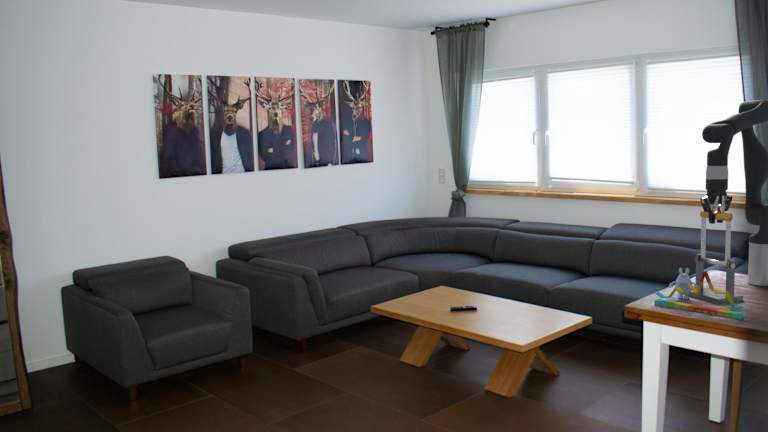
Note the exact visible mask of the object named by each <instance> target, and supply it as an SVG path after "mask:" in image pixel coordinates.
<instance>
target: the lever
mask: <svg viewBox="0 0 768 432" xmlns="http://www.w3.org/2000/svg"><path fill="white" fill-rule="evenodd" d="M699 216H700V218H701V219H700V220H701V221H700V222H701V224H700V228H701V229H700V254H701V258H700V261H701V262H704V264H705V263H706V264H711V265H715V266H719V267H723V268H726V261H727V260H731V242H732V241H731V240H732V236H731V235H732V220H733V218H734V215H733V213H731V212H717V210H715V221H717V220H723V222H725V244H724V245H725V248H724V249H725V250H724V261H721V260H719V259H718V260H717V259H713V258H707V257H706V250H707V249H706V248H707V246H706V243H707V234H706V233H707V219H709V214H708V213H707V212H704V210H703V209H702V210H701V211H700V212H699Z"/></svg>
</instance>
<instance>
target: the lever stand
mask: <svg viewBox="0 0 768 432" xmlns="http://www.w3.org/2000/svg"><path fill="white" fill-rule="evenodd" d="M700 258H701V253H696V254H695V282H694V283H695V284H697V285H698V286H699V283H700V280H701V277H702V274H703V272H705V266H704V265H705V262H701V261H700ZM725 268H726V269H725V272H726V273H725V274H726V275H725V291H728V292H729V294H730V296H731V298H732V300H733V302H734V303H738V302H744V295H741V294H738V293H735V275H736V272H735V271H736V269H735V268H736V259H730V260H727V261H726V267H725ZM704 280H705V279H704ZM704 280H703V283H702V286H701V289H700V292H699V293H697V294H695V293H694V292H693V291H692V290H691V292H690V293H689V294H687V296H689V298H695V299H696V300H697V299H698V300H700V301H704V302H708V303H711V304H715V305H723V304H730V303H729V301H728V299H727V296H726V294H717V293H715V292H713V291H711V290H710V288H709V286H708V287H704V282H705V281H704ZM714 288H715V287H714ZM715 289H717V290H719V291H724V289H723V290H722V289H720V288H715Z"/></svg>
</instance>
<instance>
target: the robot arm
mask: <svg viewBox="0 0 768 432" xmlns="http://www.w3.org/2000/svg"><path fill="white" fill-rule="evenodd" d="M767 122H768V99H757V100H755V99H754V100H745V101H742V102H741V103H740V104H739V106H738V113H735V114H732V115H730V116H728V117H725V119H722V120H719V121H714V122H712V123H708V124H707V125H706V126H705V127H704V128H703V129H702V132H701V133H702V134H701V136H702V139H703V140H704V142H706V143H707V144H719V146H718V147H717V148H715V149H710V150H708V151H707V155H706V168H705V169H706V171H705V190H706V194H705V196H704V197H700V198H699V200H700V201H699V202H700V203H701V207H702V208H703V209H702V210H704V212H707V213H708V214H709V218H708V223H709V224H710V225H711V224H713V225H714V224H715V223H718V224H723V222H724V221H723V220H716V219H715V211H716V212H724V213H726V212H728V211H729V209H730V206H731V203H732V201H733V198H734V197H733V196H732V195H728V194H727V191H728V189H729V167H728V163H729V152H730V149H731V146H732V143H733V140H734V137H735V135H737V134H739V133H740V134H741V140H742V150H743V169H744V170H743V171H744V181H745V183H744V184H745V203H744V204H745V206H744V216H745V219H746V221H747V223H748V224H749V225H752V226H758V227H759V229H758V232H756V233H753V234H750V235H749V237H748V265H747V266H748V268H747V270H748V271H747V283H748V284H749V285H754V286H760V287H762V286H763V287H767V286H768V203H762V190H763V187H764V185H765V183H766V181H767V180H768V151H767V149H766V147H764V145H763V143H761V142H760V140H759V139H758V136H757V135H756V133H755V130H754V126H755V125H759V124H764V123H767Z"/></svg>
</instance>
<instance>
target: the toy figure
mask: <svg viewBox="0 0 768 432" xmlns="http://www.w3.org/2000/svg"><path fill="white" fill-rule="evenodd" d="M678 273H679V274H678V276H677V278H676V280H674V281H672V282H670V283H669V284H668V288H670V289H672V288H676V287H680V288H681V289H682V290H685V289H686V288H687V287H689V286H691V285H693V286H694V287H695V288H696V289H698V285H697V284H695V283H696V282H693V281H692V280H691V277H690V276H689V273H690V268H689V267H686V268H685V272H683V268H682V267H679V268H678ZM675 292H677V293H678V294H679V295H677V298H678V299H682V300H683V299H685V300H689V299H690V296H687V294H689V293H690V292H691V289H690V288H689V289H688V290H687V291H686V292H685V293H682V294H681V293H680V292H679V291H677V290H676V291H675Z"/></svg>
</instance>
